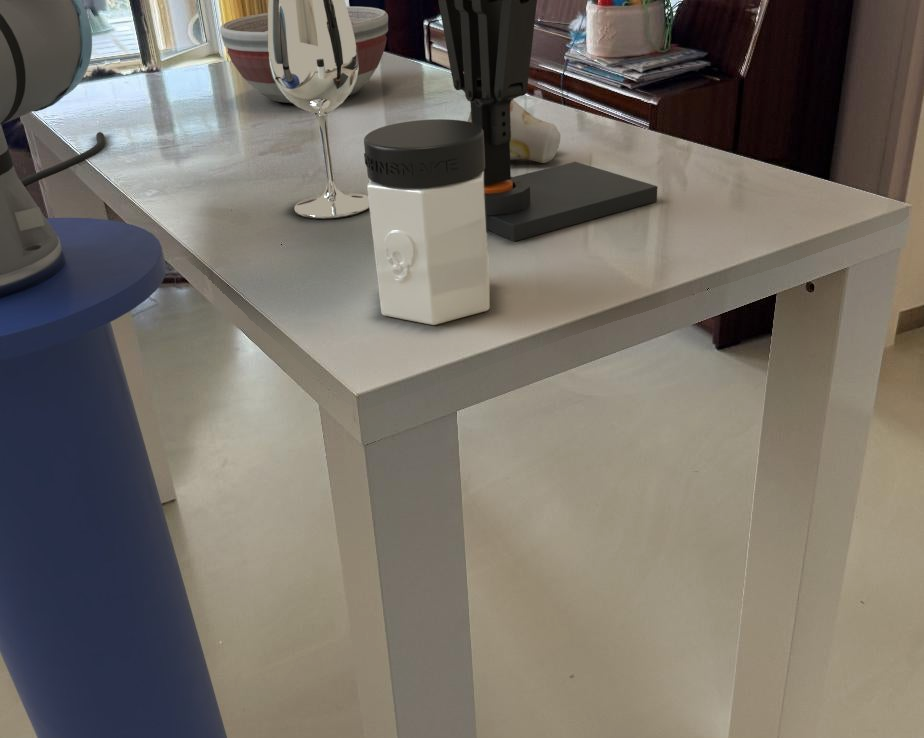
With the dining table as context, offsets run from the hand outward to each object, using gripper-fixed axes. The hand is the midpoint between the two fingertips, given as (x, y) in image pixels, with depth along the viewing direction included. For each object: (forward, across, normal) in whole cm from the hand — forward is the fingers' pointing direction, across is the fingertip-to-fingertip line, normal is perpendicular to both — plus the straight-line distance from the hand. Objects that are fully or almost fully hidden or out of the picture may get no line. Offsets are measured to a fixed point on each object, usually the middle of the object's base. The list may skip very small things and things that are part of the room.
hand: (493, 180), depth 85 cm
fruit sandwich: (+4, +15, -13) cm, 20 cm away
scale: (+4, 0, -6) cm, 7 cm away
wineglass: (+4, +14, +9) cm, 17 cm away
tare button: (+2, 0, 0) cm, 2 cm away
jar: (+4, -13, +14) cm, 19 cm away
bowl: (+4, +64, -13) cm, 65 cm away
